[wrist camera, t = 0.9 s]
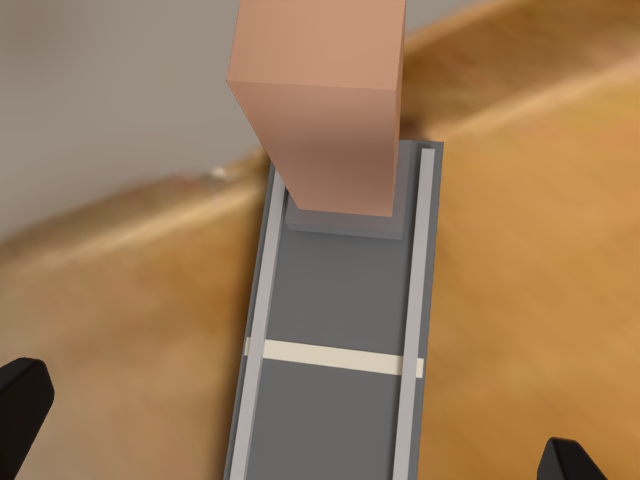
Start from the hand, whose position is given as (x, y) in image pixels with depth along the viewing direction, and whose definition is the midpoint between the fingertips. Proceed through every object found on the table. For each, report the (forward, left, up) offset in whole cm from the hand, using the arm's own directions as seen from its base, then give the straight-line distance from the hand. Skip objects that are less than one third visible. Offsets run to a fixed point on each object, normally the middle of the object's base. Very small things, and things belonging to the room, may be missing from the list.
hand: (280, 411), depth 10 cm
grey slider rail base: (0, 0, -13) cm, 13 cm away
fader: (+7, +4, -11) cm, 13 cm away
